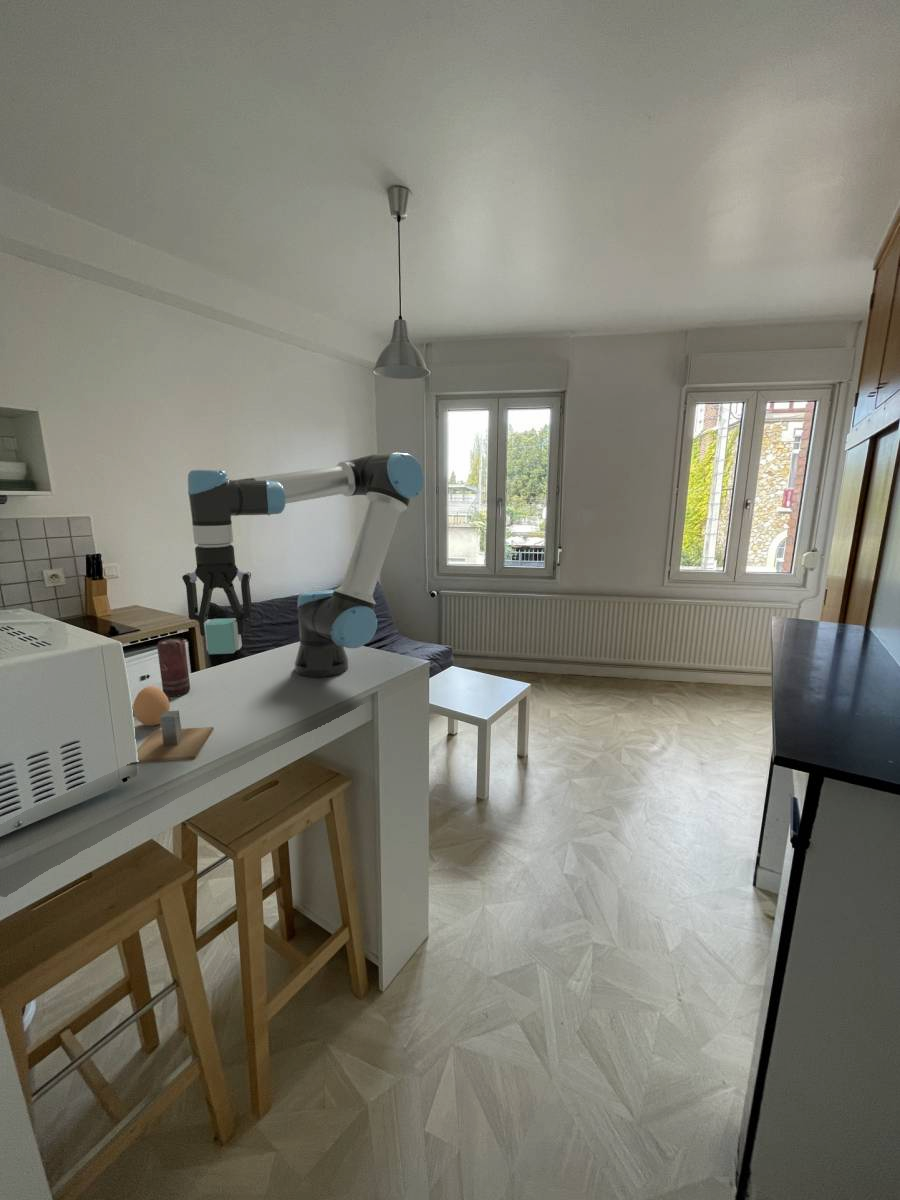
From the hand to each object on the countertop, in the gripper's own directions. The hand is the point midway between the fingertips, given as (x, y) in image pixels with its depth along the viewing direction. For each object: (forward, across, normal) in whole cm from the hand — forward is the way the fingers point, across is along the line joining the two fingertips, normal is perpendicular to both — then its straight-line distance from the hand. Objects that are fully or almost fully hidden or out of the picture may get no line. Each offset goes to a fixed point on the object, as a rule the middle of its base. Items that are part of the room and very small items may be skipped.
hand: (224, 648), depth 110 cm
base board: (+16, +8, +12) cm, 22 cm away
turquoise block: (0, 0, 0) cm, 0 cm away
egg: (+17, +16, +2) cm, 23 cm away
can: (+17, +17, -16) cm, 29 cm away
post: (+16, +8, +12) cm, 22 cm away
